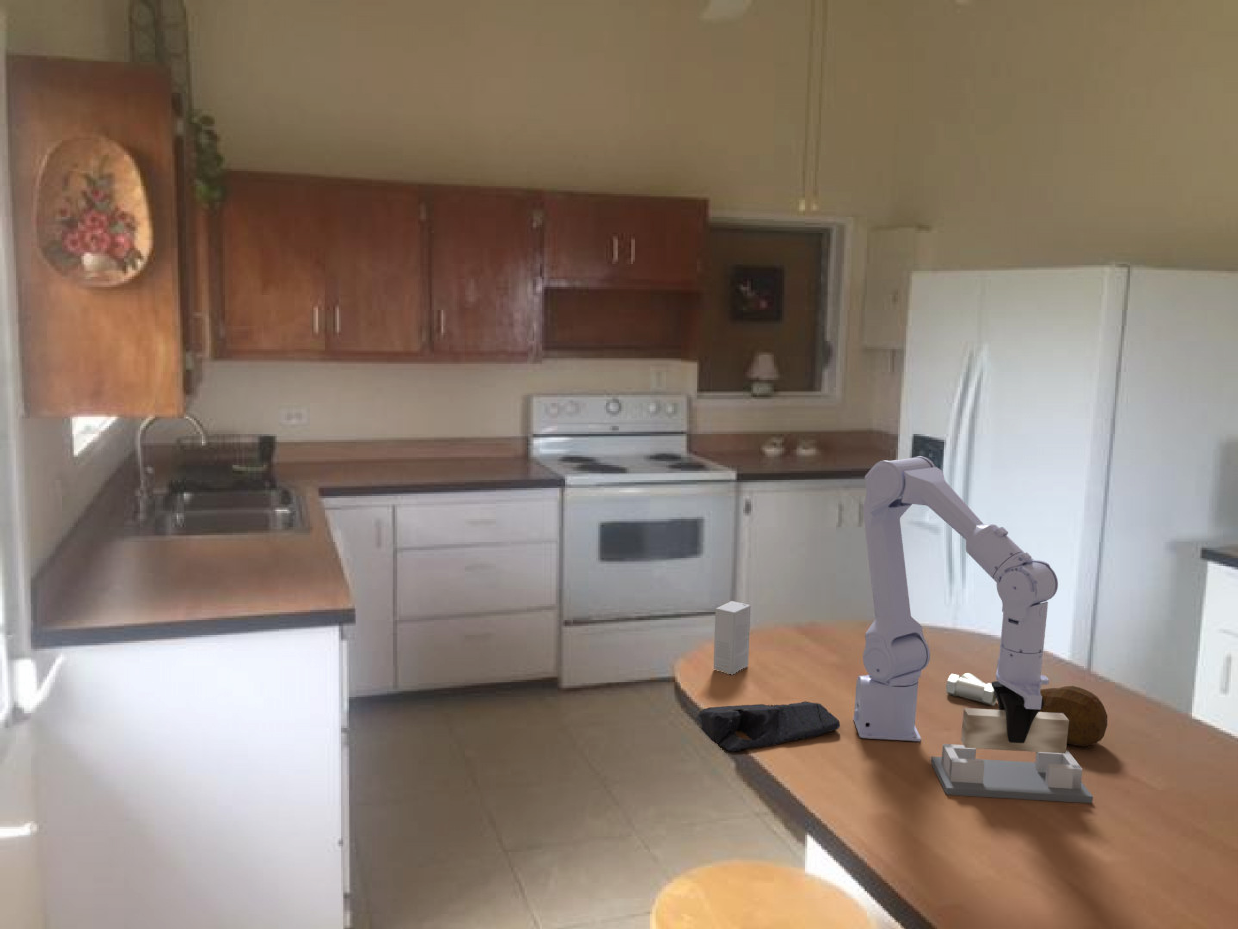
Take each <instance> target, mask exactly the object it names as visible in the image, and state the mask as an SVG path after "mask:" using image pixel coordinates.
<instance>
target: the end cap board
mask: <svg viewBox="0 0 1238 929" xmlns="http://www.w3.org/2000/svg"><path fill="white" fill-rule="evenodd" d="M941 750H942V751H941V756H931V757H930V760H931V761H930V764H931V766H932V768H933V770H934V772H935V774H936V777H937V778H938V780H939V783H940V784H941V788H942V789H943V791H944V793H945V795H947V796H948V795H949V796H965V797H981V798H999V799H1014V800H1015V799H1017V800H1030V801H1031V800H1034V801H1047V802H1048V801H1050V802H1051V801H1052V802H1064V803H1066V802H1067V803H1083V804H1084V803H1085V804H1093V799H1094V795H1092V793H1091V792H1090V791H1089V789H1088V788H1087V786H1086V785H1085V784H1084V782H1083V780H1082V778H1083V768H1082V766H1081V765H1080V764H1079V763H1078V762H1077V760H1076V759H1075V758H1074V757H1073V755H1072V754H1071V753H1070V751H1069V750H1066V753H1048V752H1035V754H1036V755H1035V761H1031V762H1030V761H1017V760H1016V761H1015V760H1002V759H1001V760H999V759H980V758H976V754H977V749H976V748H965V747H964V745H963V744H951V743H949V744H948V743H943V744H942V749H941Z"/></svg>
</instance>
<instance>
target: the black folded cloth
mask: <svg viewBox="0 0 1238 929" xmlns="http://www.w3.org/2000/svg"><path fill="white" fill-rule="evenodd" d="M694 718H695V720H696V721H697V722H698V723H699V724H700V725H701V728H702V732H704V734H705V735H706V736H707V737H708V738H709V739H710V741H712V742H715V743H716V744H719V747H722V748H724V749H726V750H727V751H729V752H733V753H734V752H740V751H741V750H746V749H757V748H758V747H761V748H765V747H770V746H771V747H772V746H774V745H775V744H777V745H776V746H778V745H780V744H782V743H785V742H793V741H802V740H803V739H808V738H815V737H819V736H823V734H828V733H829V732H831V731H836V730H838V729H840V727H841V723H840V720H839V719H838V718H837V717H836V716H834V715H833V714H832V713H831V712H829V711H828V709H827V708H826V707H825V706H824V705H822V704H821V703H819V702H811V701H806V700H804V701H801V702H796V703H795V702H794V703H789V704H774V705H773V704H768V705H767V704H763V703H758V704H742V705H725V706H723V705H722V706H714V707H713V706H711V707H707V708H703V709H701V710H700V712H699V714H698V716H696V717H694ZM737 732H739V733H743V734H745V736H746V737H747V739H745V738H741V737H739V735H738V734H737ZM814 736H815V737H814ZM797 739H798V740H797Z"/></svg>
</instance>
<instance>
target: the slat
mask: <svg viewBox="0 0 1238 929" xmlns="http://www.w3.org/2000/svg"><path fill="white" fill-rule="evenodd" d="M1068 726H1069V720H1068V718H1067V717H1066V716H1065V715H1064V714H1063V713H1049V712H1038V714H1037V715H1036V716H1035V718H1034V720H1033V722H1032V724H1031V727H1030V729H1029V732H1028V735H1027V737H1026V740H1025V742H1024V743H1011V742H1009V740H1008V736H1007V721H1006V712H1005V710H999V709H992V708H990V709H988V708H971V707H970V708H969V707H963V713H962V725H961V735H960V741H961V743H962V745H964V747H965V748H976V750H977V749H978V750H994V751H995V750H997V751H998V750H999V751H1014V752H1015V751H1017V752H1031V753H1032V752H1034V753H1036V752H1048V753H1066V751H1067V746H1068V743H1067V736H1068Z"/></svg>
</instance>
